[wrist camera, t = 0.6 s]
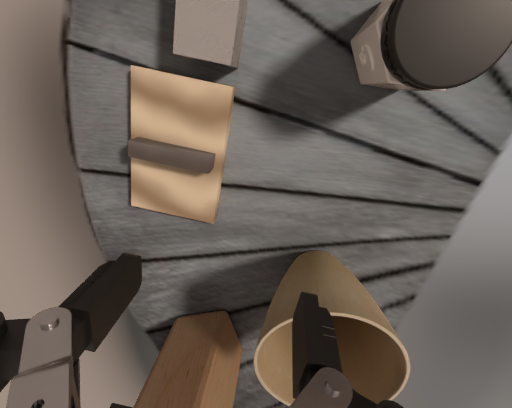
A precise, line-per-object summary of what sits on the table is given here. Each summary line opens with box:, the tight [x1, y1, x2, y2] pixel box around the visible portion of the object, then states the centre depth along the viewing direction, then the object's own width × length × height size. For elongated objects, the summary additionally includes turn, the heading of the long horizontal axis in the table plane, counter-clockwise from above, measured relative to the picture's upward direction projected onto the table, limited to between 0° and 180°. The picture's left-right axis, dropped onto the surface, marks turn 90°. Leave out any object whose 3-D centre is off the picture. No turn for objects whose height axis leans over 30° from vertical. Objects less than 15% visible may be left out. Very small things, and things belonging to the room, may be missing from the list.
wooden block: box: [133, 311, 242, 408], centre depth 39 cm, size 10×10×20 cm
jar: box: [350, 0, 512, 91], centre depth 23 cm, size 9×8×12 cm
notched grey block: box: [173, 0, 248, 68], centre depth 27 cm, size 6×8×4 cm
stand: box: [128, 65, 235, 224], centre depth 34 cm, size 18×12×4 cm, turn 169°
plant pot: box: [254, 250, 410, 406], centre depth 34 cm, size 15×15×16 cm
